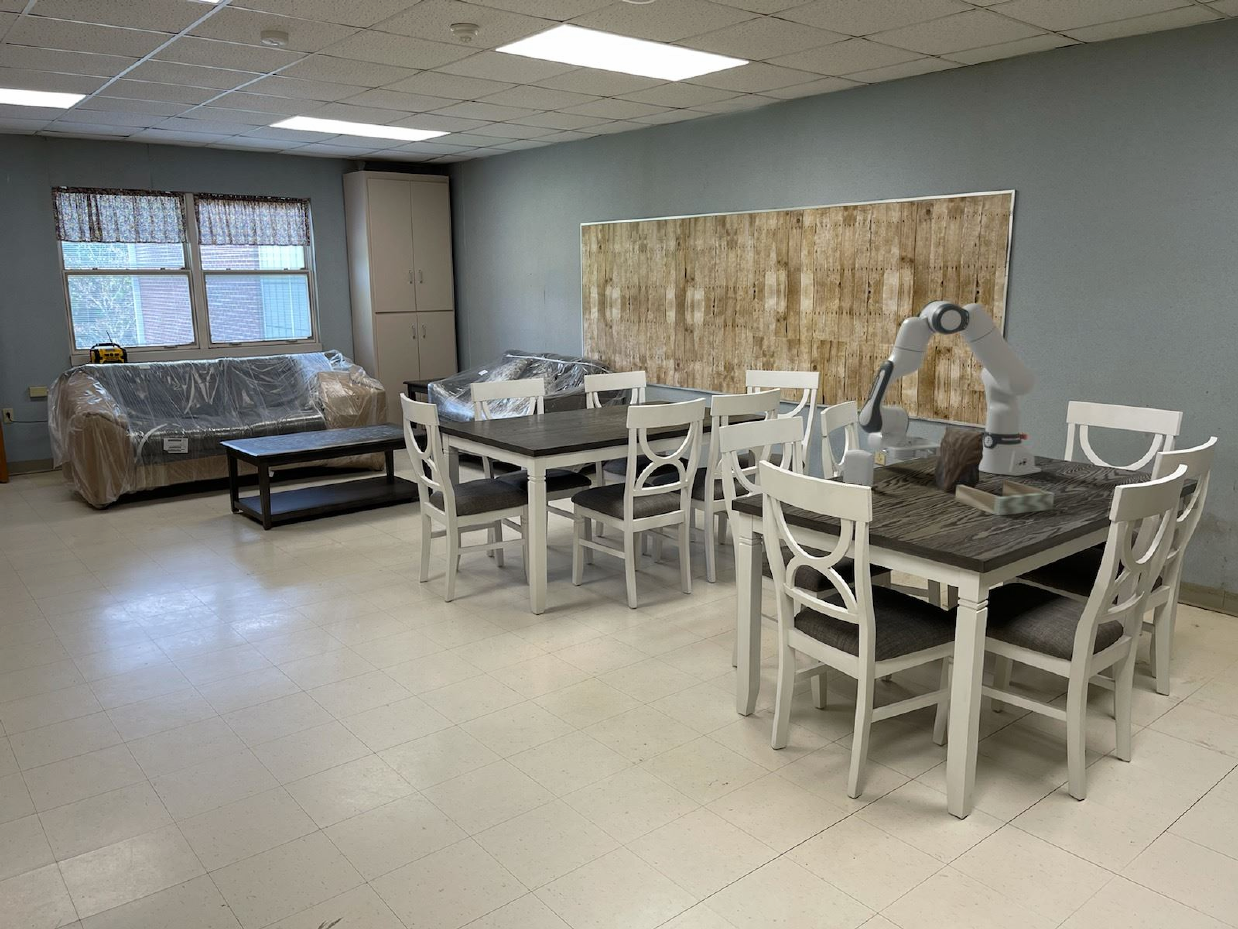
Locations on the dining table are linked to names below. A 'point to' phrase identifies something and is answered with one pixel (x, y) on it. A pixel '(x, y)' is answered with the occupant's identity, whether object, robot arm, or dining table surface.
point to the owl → (959, 459)
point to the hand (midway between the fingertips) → (930, 455)
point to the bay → (1007, 499)
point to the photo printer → (858, 467)
